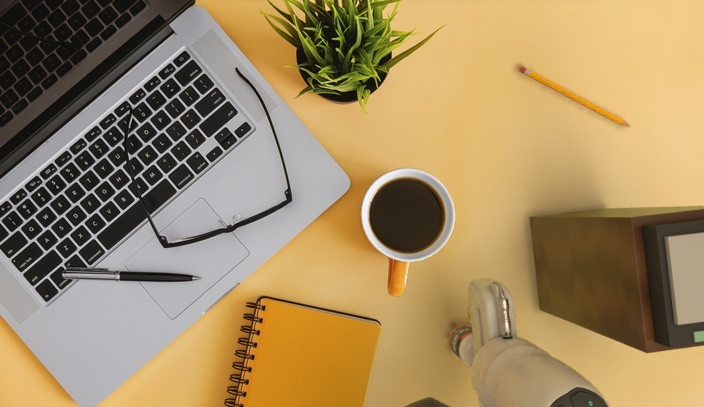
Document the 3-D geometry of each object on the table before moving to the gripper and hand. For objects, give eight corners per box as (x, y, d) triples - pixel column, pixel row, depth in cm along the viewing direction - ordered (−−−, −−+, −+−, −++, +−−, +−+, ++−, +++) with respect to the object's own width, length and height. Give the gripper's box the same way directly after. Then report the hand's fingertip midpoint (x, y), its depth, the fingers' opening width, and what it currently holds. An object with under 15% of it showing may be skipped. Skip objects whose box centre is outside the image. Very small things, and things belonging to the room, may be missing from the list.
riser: (616, 300, 83) (756, 338, 57) (539, 310, 82) (646, 353, 56) (605, 208, 83) (740, 204, 57) (529, 216, 82) (630, 217, 56)
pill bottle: (458, 318, 81) (475, 330, 73) (485, 334, 81) (505, 347, 73) (442, 346, 81) (457, 361, 72) (469, 362, 81) (487, 379, 73)
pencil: (521, 66, 83) (523, 65, 82) (631, 125, 84) (633, 124, 83) (519, 71, 83) (520, 70, 82) (628, 129, 84) (631, 129, 83)
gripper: (475, 288, 61) (445, 273, 75) (495, 470, 61) (461, 422, 75) (530, 282, 62) (490, 268, 76) (550, 462, 62) (506, 416, 76)
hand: (476, 346), depth 75 cm, fingers open, 8 cm apart
